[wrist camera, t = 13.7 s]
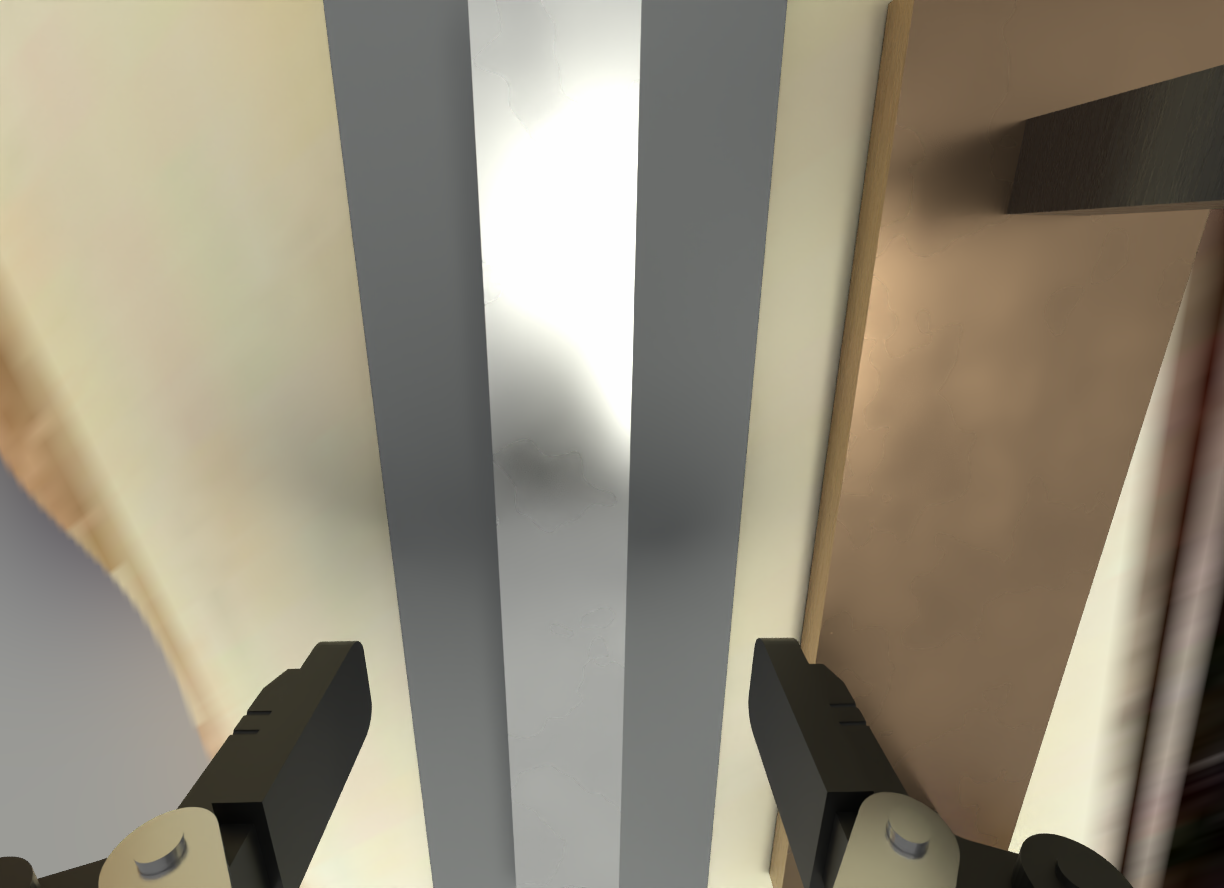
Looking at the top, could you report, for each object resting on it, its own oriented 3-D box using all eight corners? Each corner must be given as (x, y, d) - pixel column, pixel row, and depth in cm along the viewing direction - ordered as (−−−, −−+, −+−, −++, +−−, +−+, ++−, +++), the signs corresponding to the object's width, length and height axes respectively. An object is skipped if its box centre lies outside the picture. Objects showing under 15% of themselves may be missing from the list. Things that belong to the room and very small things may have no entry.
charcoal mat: (319, -99, 12) (309, -113, 12) (787, -82, 13) (796, -94, 12) (441, 914, 22) (438, 929, 22) (702, 903, 23) (704, 917, 22)
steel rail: (492, 36, 13) (466, -22, 10) (629, 40, 13) (642, -17, 10) (529, 877, 21) (521, 975, 18) (612, 874, 21) (616, 971, 19)
